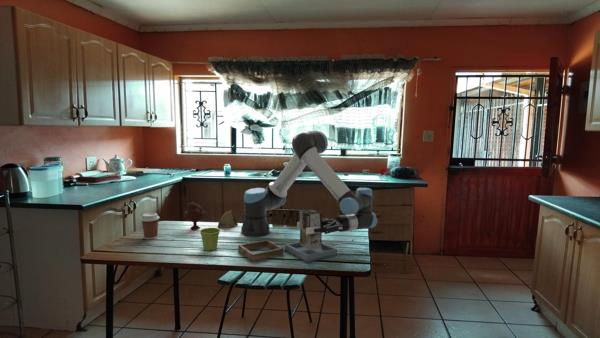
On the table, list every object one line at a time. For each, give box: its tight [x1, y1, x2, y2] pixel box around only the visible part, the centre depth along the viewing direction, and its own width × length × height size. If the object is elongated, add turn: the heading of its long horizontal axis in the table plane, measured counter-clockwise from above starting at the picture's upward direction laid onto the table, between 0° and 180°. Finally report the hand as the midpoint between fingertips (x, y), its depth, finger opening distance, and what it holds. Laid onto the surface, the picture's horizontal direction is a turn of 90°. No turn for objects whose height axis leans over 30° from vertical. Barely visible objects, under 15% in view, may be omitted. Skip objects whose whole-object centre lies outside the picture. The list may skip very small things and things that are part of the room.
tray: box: [284, 240, 338, 264], centre depth 162 cm, size 18×16×3 cm
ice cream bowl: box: [183, 201, 206, 231], centre depth 200 cm, size 11×11×15 cm
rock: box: [217, 209, 239, 228], centre depth 206 cm, size 11×9×10 cm
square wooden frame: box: [237, 239, 284, 262], centre depth 162 cm, size 15×15×3 cm
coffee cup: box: [140, 212, 161, 240], centre depth 184 cm, size 9×9×12 cm
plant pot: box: [199, 227, 221, 252], centre depth 168 cm, size 9×9×9 cm
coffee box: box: [299, 208, 323, 250], centre depth 161 cm, size 9×6×16 cm
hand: (301, 228), depth 159 cm, fingers closed on coffee box, 9 cm apart
